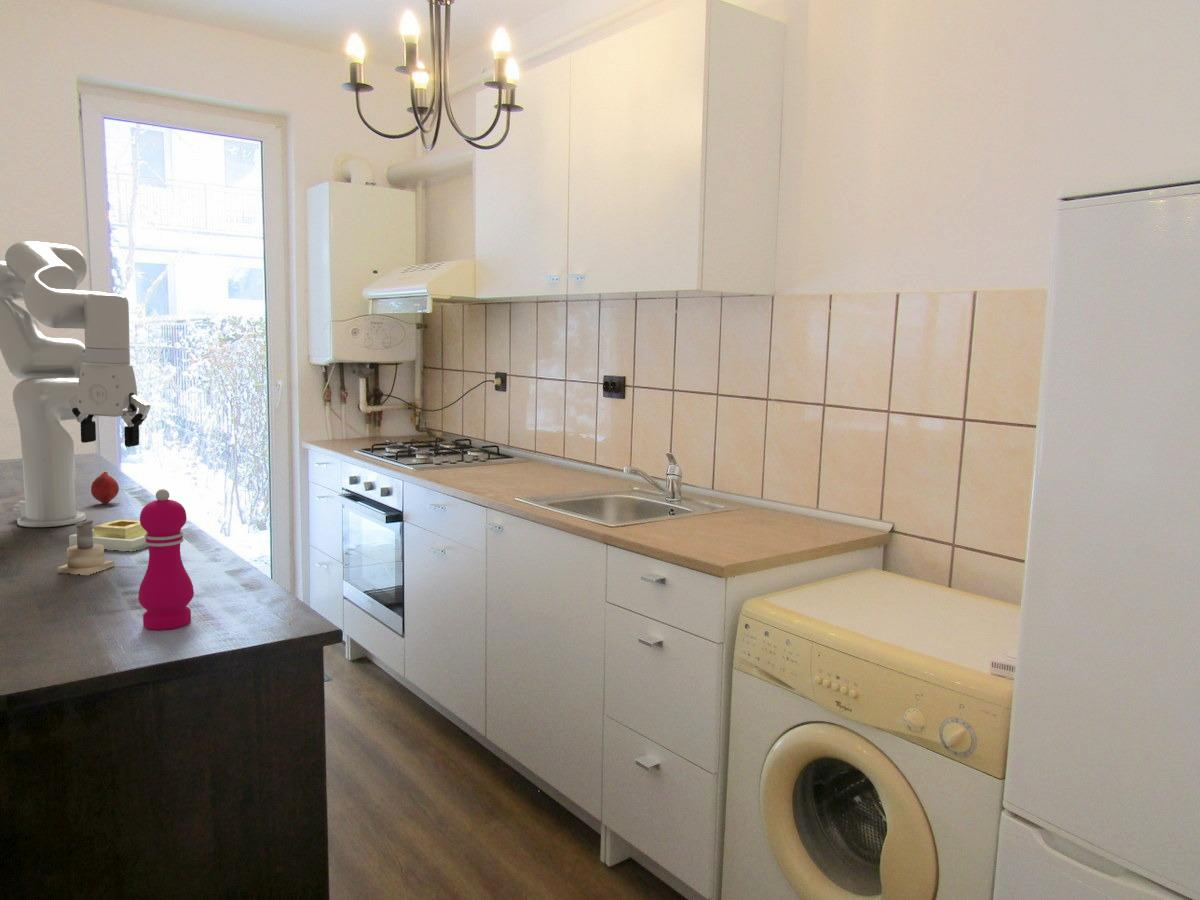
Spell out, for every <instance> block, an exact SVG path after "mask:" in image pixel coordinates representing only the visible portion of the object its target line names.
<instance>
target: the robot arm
mask: <svg viewBox="0 0 1200 900" xmlns="http://www.w3.org/2000/svg"><path fill="white" fill-rule="evenodd" d="M86 261H87V260H86V258H85V257H84V255H83V253H82V252H81V251H80V250H79V249H78V248H77V247H75V246H73V245H69V244H64V243H63V244H62V243H55V242H52V243H51V242H43V241H35V240H27V241H26V240H24V241H17V242H16V243H13V244H12V245H10V246H9V247H8V248H7V249H6V251H5V255H4V260H0V352H1V356H2V357H3V359H4V362H5V365H6V367H7V369H8V370H9V372H10V374H12V376H13V377H15V378H16V379H18V380H21V381H19V382H18V383H17V384H16V385H15V386H14V388H13V391H12V401H13V402H12V403H13V405H14V410H15V413H16V417H17V422H18V426H19V434H20V445H21V447H20V448H21V459H22V475H23V477H22V478H23V492H24V500H19V501H17V503H16V504H13V506H12V511H15V512H16V511H17V512H21V516H19V517H18V518H17V519H16V522H17V525H18V526H20V527H25V528H51V527H54V528H55V527H62V526H68V525H75V524H76V523H79V522H83V521H86V519H87V517H86V516H87V515H86V513H85V512H84V511H79V510H78V500H77V499H78V497H77V482H76V481H77V479H76V477H77V476H76V463H75V462H76V461H75V459H76V458H75V445H74V444H75V443H74V440H73V438H72V436H71V434H70V433H69V431H67V430H66V428H64V426H62V424H61V423H60V422H63V421H64V422H65V421H77V422H78V423H80V441H81V443H82V444H86V443H91V442H95V441H97V429H96V427H97V425H96V420H93V419H96V418H99V417H101V416H102V417H110V418H111V417H112V418H113V417H115V418H116V417H117V418H118V417H120V418H122V420H123V422H124V423H125V425H127V426H124V431H123V432H124V435H123V436H124V446H125V447H126V448H131V447H136V446H139V445H140V426H142V425H143V423H144V421H145V420H146V419H147V417H148V414H149V412H150V410H151V404H149V403H148V402H146V401H144V400H143V399H142V398H140V397H139V396H138V389H137V388H138V387H137V381H136V376H135V371H134V367H133V365H131V363H130V362H131V361H130V360H131V356H130V354H131V352H130V351H131V349H130V342H131V341H130V311H129V310H130V309H129V308H130V305H129V300H128V298H127V297H126V296H125V295H122V294H117V293H108V292H104V291H93V290H78V289H77V287H79V285H80V284H81V283H82V282H83V281H84V280H85V278H86V275H87V271H88V269H87V262H86ZM14 301H23V302H24V306H25V308H26V309H27V310H26V309H24V308H23V307H22V306H20V305H18V304H17V303H15V302H14ZM38 322H39V323H40V324H42V325H44V326H46V327H48V328H52V329H76V330H77V329H82V330H83V329H84V343H83V342H82V341H80V340H78V339H76V338H70V337H69V338H68V337H49V336H46V335H44V333H42V331H41V329H40V325H39V324H38Z"/></svg>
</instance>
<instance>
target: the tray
mask: <svg viewBox="0 0 1200 900" xmlns="http://www.w3.org/2000/svg"><path fill="white" fill-rule="evenodd" d="M92 531H93V544H101V545H103V546H104V549H107V550H106V551H113V550H119V551H118V552H125V551H135V552H137V551H136V550H138V551H140V550H139V549H141V550H143V549H142V548H144V549H146V548H145V547H147V548H148V545H146V544H145V541H146V540H145V539H146V538H145V537H144V536H145V535H144V536H141V537H138V538H135V539H120V538H108V537H95V536H94V528H92ZM180 531H182V529H181V530H180ZM68 542H69V543H68V545H69V547H71V546H75V545H77V533H73V534H71V535H68ZM69 547H68V548H69Z"/></svg>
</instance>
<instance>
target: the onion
mask: <svg viewBox="0 0 1200 900" xmlns="http://www.w3.org/2000/svg"><path fill="white" fill-rule="evenodd" d="M119 489H120V487H119V484H118V482H117V480H115V479H114V478H113V477H112V476H110V475H108V471H107V470H105V471H102V472H101V474H100V475H99V476H97V477H96V478H95V479H94V480H93V482H92V483H91V485H90V492H91V495H92V497H93V498H94V499H95V500H97V502H100V503H102V504H103V505H105V504H107V505H108V504H109V503H110V502H111V501H112V500H113V499H115V498H116V497H117V496H118V493H119V491H120V490H119Z"/></svg>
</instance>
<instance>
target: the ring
mask: <svg viewBox="0 0 1200 900" xmlns="http://www.w3.org/2000/svg"><path fill="white" fill-rule="evenodd" d="M93 529H94V536H95V537H108V538H120V539H135V538H138V537H141V536H144V535H145V534H147V531H146V530H144V529H143V527H142V526H141V524H140V519H139V520H135V519H125V518H123V519H121V518H119V519H115V520H112V521H108V522H104V523H101V524H97V525H94V526H93Z"/></svg>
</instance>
